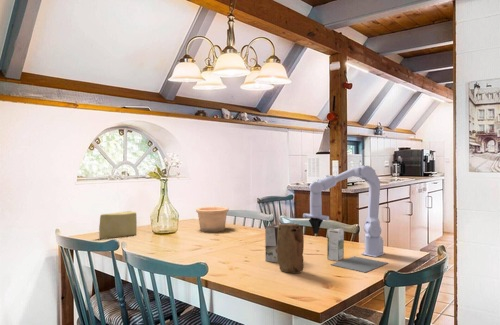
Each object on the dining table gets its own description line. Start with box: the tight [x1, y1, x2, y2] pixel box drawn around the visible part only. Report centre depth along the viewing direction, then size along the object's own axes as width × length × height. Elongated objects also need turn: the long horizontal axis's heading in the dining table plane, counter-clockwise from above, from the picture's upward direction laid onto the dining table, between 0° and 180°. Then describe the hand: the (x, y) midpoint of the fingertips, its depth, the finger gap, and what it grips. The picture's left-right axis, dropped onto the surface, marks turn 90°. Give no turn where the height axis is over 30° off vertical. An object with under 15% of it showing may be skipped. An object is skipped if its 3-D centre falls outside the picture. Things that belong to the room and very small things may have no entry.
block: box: [277, 222, 305, 274], centre depth 165 cm, size 11×8×20 cm
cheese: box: [98, 210, 138, 240], centre depth 243 cm, size 22×10×15 cm, turn 133°
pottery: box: [195, 206, 229, 233], centre depth 262 cm, size 22×22×14 cm
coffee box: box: [264, 223, 279, 263], centre depth 183 cm, size 9×6×16 cm
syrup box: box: [326, 227, 345, 262], centre depth 183 cm, size 6×6×14 cm
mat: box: [330, 256, 389, 274], centre depth 174 cm, size 20×17×1 cm
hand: (315, 233), depth 192 cm, fingers closed
